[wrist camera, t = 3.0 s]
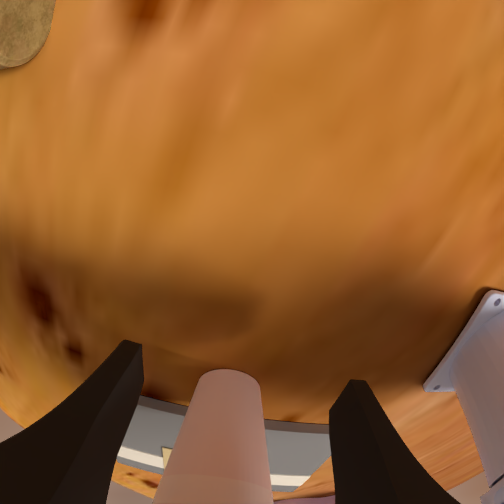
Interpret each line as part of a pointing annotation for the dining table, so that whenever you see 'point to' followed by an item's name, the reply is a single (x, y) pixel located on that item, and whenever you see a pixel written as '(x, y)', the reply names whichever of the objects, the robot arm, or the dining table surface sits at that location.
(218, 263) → the dining table surface
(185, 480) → the smoothie
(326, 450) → the board
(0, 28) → the gavel
